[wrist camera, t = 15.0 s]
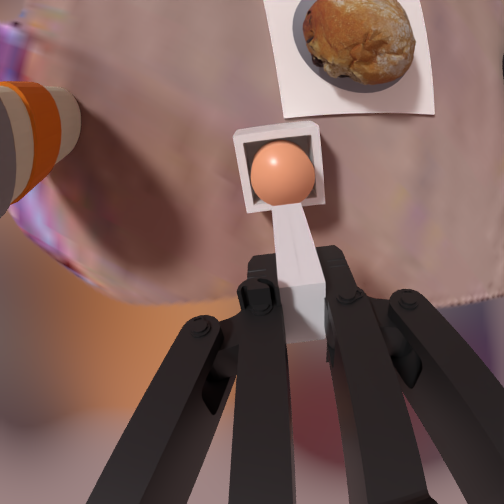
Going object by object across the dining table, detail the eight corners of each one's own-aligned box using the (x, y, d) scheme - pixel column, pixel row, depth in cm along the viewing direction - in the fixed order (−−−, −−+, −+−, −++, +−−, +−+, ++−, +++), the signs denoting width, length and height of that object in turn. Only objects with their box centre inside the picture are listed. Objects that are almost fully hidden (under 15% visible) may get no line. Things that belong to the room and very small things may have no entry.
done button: (247, 143, 23) (245, 151, 21) (306, 136, 23) (312, 143, 20) (256, 197, 26) (256, 210, 24) (311, 190, 26) (317, 203, 23)
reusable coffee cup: (46, 192, 29) (-34, 257, 16) (7, 116, 23) (-81, 154, 10) (113, 137, 26) (14, 190, 13) (67, 49, 20) (-39, 56, 7)
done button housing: (236, 129, 26) (232, 136, 22) (310, 120, 25) (318, 125, 21) (249, 196, 29) (247, 213, 26) (317, 188, 28) (325, 203, 25)
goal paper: (256, -30, 17) (256, -32, 16) (412, -22, 15) (413, -23, 14) (283, 118, 25) (284, 118, 24) (433, 114, 23) (435, 114, 23)
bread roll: (389, 74, 24) (448, 67, 17) (323, 104, 23) (388, 95, 16) (348, -3, 20) (401, -28, 12) (271, 12, 18) (321, -28, 11)
